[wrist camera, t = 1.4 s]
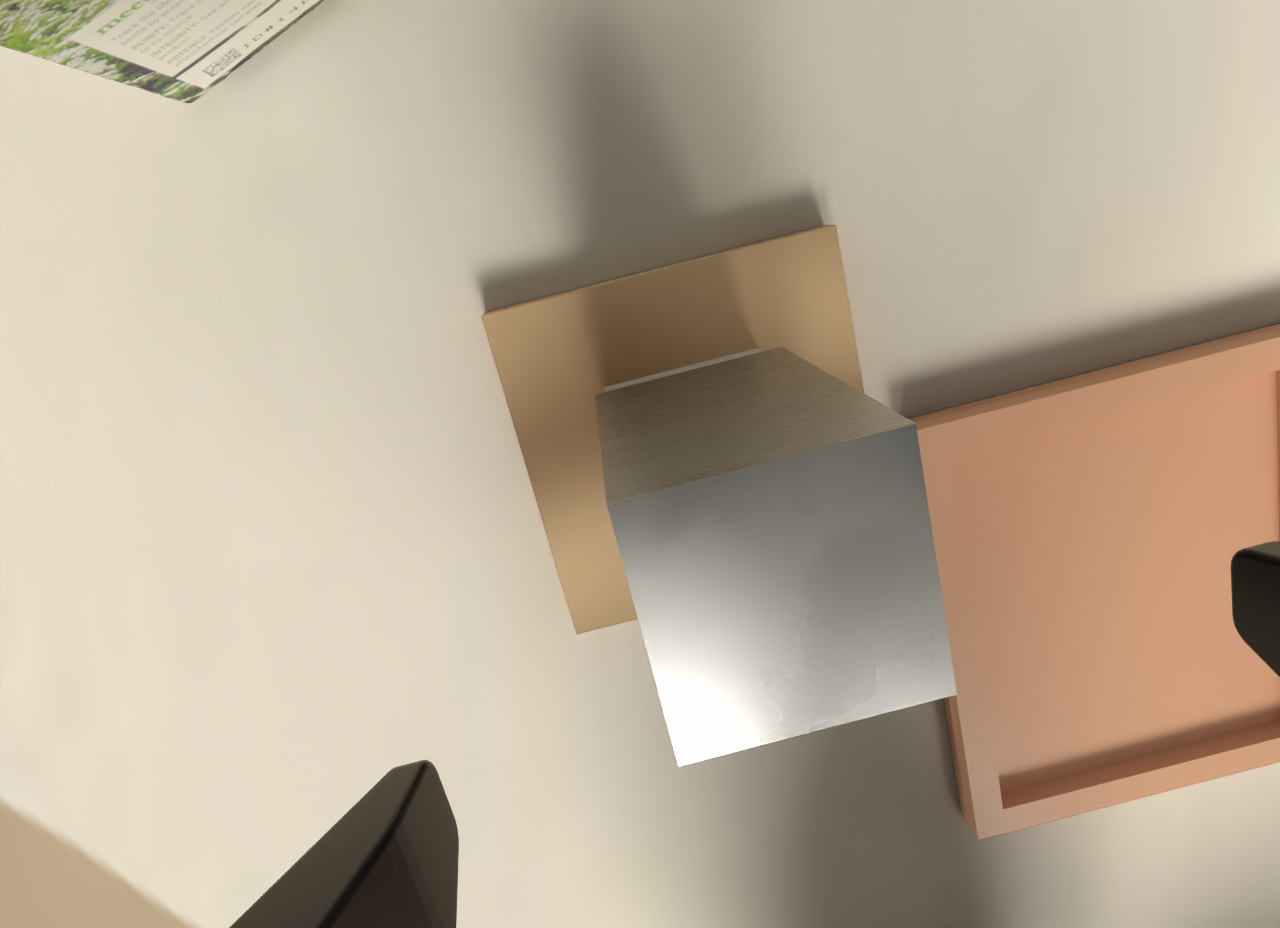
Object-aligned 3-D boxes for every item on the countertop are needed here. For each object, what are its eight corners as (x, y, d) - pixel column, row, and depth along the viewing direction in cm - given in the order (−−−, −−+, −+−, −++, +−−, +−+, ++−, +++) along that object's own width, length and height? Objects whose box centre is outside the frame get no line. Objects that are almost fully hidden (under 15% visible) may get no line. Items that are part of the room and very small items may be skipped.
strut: (816, 521, 18) (957, 694, 11) (640, 567, 18) (678, 767, 11) (782, 346, 17) (915, 423, 10) (594, 394, 17) (606, 503, 10)
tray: (1298, 727, 24) (1328, 749, 23) (962, 815, 24) (977, 840, 23) (1292, 319, 20) (1329, 323, 19) (899, 421, 20) (916, 430, 19)
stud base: (879, 541, 21) (916, 579, 19) (576, 619, 21) (576, 667, 19) (824, 225, 19) (859, 224, 16) (485, 312, 19) (472, 324, 16)
